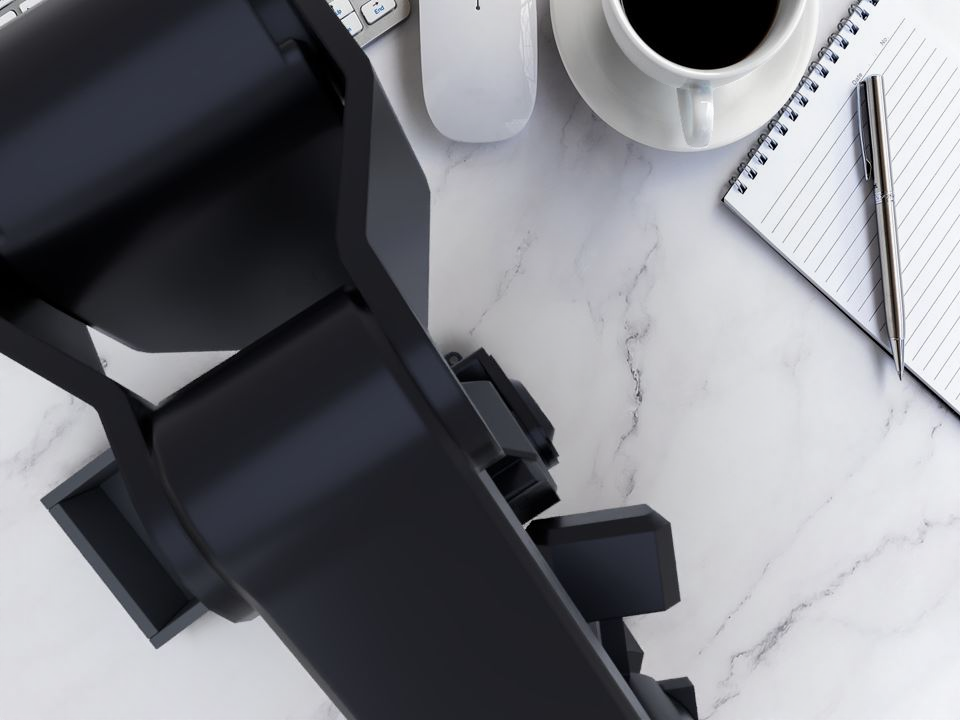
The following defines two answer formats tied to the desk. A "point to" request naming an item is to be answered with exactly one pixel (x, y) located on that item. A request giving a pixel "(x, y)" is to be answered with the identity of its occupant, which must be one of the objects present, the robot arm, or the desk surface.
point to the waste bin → (122, 549)
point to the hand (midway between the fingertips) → (588, 659)
